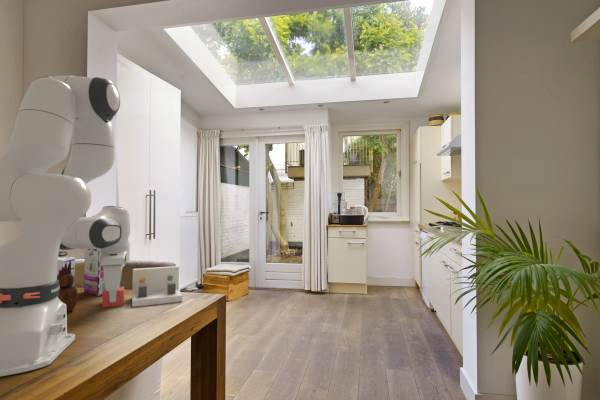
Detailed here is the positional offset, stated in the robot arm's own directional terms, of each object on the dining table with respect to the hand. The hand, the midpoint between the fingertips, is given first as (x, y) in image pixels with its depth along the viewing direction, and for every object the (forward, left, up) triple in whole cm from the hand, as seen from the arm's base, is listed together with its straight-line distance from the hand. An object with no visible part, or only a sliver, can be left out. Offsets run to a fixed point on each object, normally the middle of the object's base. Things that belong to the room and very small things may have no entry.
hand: (113, 298), depth 111 cm
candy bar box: (+19, +6, -2) cm, 20 cm away
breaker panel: (0, -13, -2) cm, 13 cm away
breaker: (-2, -9, -1) cm, 9 cm away
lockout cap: (0, 0, -2) cm, 2 cm away
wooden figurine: (-3, +13, -2) cm, 13 cm away
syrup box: (+11, +16, -2) cm, 20 cm away
